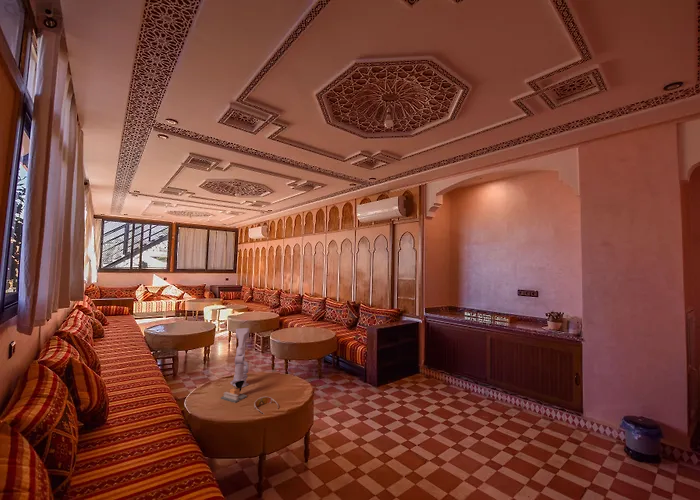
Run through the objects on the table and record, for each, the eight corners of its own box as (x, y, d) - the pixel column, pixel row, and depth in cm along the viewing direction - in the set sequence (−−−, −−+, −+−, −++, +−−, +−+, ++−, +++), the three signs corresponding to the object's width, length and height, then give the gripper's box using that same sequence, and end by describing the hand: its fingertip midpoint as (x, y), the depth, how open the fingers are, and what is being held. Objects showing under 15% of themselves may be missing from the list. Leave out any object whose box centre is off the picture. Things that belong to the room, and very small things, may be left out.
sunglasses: (270, 401, 222) (270, 394, 222) (280, 411, 211) (281, 404, 211) (250, 407, 213) (251, 400, 213) (260, 419, 202) (261, 411, 201)
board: (220, 398, 225) (220, 393, 225) (232, 393, 235) (232, 387, 235) (235, 402, 219) (235, 397, 219) (247, 396, 229) (247, 391, 229)
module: (229, 396, 226) (230, 389, 226) (235, 394, 231) (235, 386, 231) (234, 397, 224) (234, 390, 224) (239, 395, 229) (239, 387, 229)
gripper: (235, 376, 223) (235, 396, 223) (250, 370, 236) (250, 388, 236) (228, 374, 226) (228, 394, 226) (243, 368, 239) (243, 386, 239)
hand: (239, 391), depth 231 cm, fingers closed
